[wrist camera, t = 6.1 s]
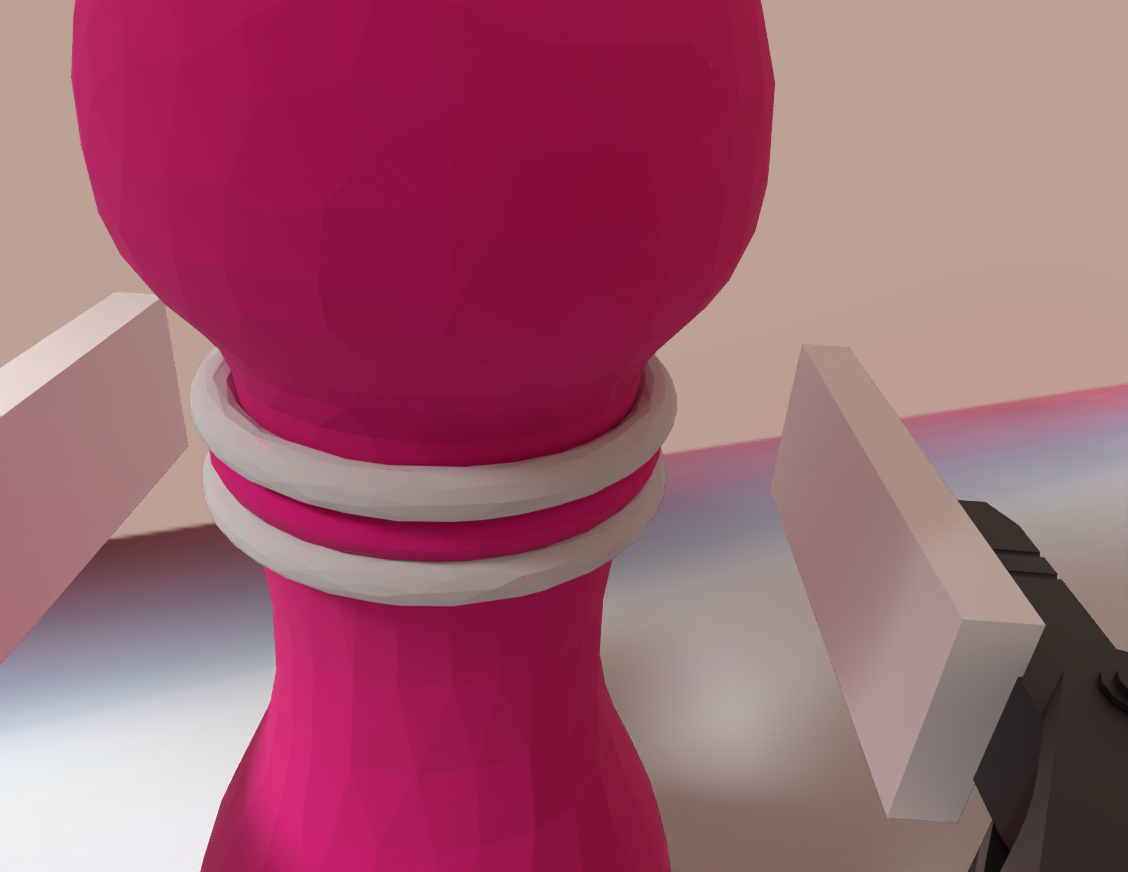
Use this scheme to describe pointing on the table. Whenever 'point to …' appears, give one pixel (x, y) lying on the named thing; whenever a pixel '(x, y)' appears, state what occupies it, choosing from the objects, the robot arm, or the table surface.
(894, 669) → the robot arm
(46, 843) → the table surface
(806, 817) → the table surface
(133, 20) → the pepper mill
